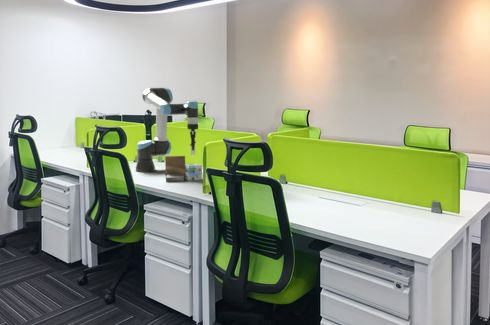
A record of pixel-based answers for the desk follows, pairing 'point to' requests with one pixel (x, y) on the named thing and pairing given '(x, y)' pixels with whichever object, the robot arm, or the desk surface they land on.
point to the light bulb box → (193, 172)
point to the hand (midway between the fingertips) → (193, 153)
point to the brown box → (175, 168)
